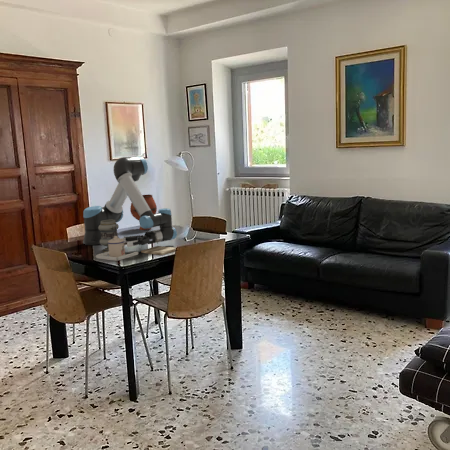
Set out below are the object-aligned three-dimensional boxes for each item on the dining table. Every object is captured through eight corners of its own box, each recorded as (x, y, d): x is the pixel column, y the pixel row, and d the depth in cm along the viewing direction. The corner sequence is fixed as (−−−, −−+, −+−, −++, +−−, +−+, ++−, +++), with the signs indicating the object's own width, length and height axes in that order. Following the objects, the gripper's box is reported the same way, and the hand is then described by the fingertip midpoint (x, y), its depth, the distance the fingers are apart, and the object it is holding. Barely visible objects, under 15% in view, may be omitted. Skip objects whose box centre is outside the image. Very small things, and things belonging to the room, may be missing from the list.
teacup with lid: (125, 257, 268) (123, 237, 266) (108, 259, 266) (106, 238, 264) (125, 253, 279) (124, 233, 277) (109, 254, 278) (107, 234, 276)
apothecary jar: (100, 249, 294) (97, 219, 291) (120, 247, 297) (118, 218, 294) (100, 253, 283) (97, 222, 280) (121, 251, 285) (118, 221, 282)
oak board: (141, 252, 279) (141, 250, 278) (157, 247, 290) (157, 245, 290) (162, 255, 270) (162, 253, 270) (178, 250, 281) (178, 247, 281)
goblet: (126, 230, 355) (124, 197, 351) (141, 226, 372) (139, 194, 368) (148, 231, 347) (146, 197, 343) (163, 227, 364) (160, 194, 360)
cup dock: (87, 256, 274) (87, 254, 274) (109, 250, 288) (109, 248, 287) (116, 260, 261) (116, 258, 261) (138, 254, 275) (138, 251, 274)
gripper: (165, 245, 278) (133, 252, 264) (142, 240, 296) (110, 246, 283) (164, 233, 277) (132, 239, 263) (141, 228, 295) (109, 234, 281)
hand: (121, 243), depth 273 cm, fingers open, 13 cm apart
